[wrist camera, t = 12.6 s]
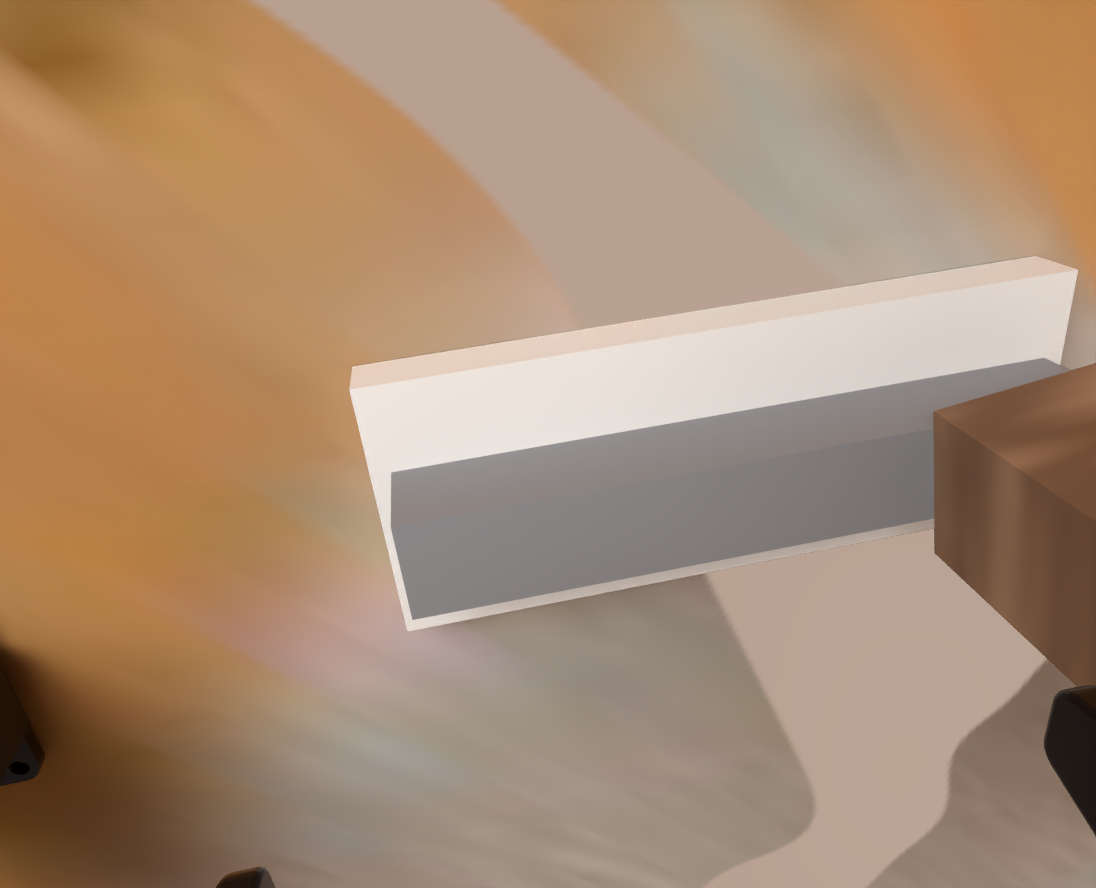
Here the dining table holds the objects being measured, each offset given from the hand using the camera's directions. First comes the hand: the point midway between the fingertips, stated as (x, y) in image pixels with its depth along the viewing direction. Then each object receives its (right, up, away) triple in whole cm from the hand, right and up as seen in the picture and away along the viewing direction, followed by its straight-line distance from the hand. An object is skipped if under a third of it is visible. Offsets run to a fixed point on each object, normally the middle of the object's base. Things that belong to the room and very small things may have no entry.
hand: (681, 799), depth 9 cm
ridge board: (+3, +4, +13) cm, 14 cm away
